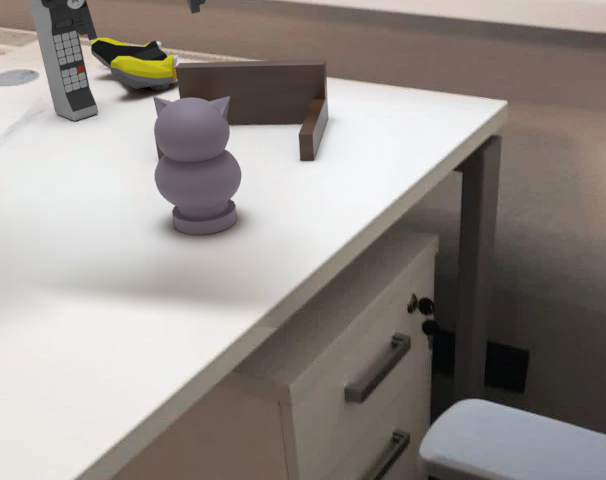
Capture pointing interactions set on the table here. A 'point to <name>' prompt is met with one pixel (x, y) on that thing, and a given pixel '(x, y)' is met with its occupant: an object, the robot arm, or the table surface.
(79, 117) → the vintage mobile phone
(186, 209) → the cat figurine
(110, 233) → the table surface
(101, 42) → the black and yellow sneaker
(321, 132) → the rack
